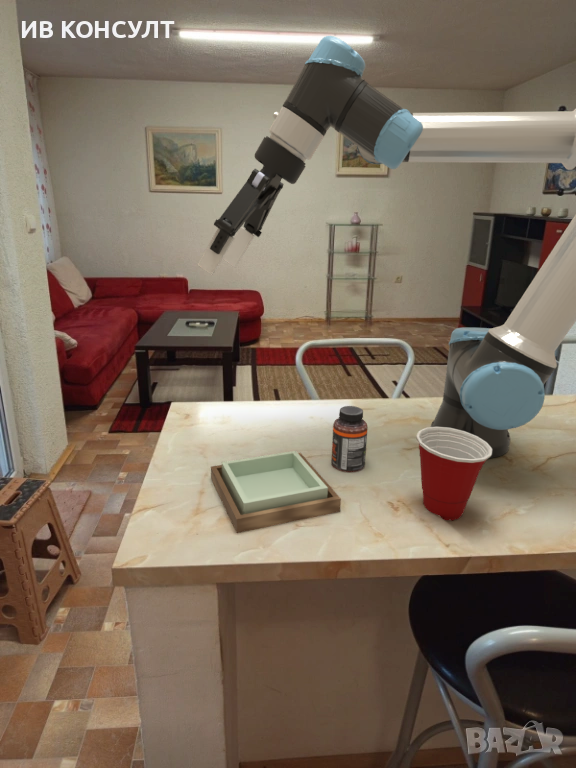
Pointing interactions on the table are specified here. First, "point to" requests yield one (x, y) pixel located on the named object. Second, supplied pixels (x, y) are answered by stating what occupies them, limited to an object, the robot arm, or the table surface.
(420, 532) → the table surface
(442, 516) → the plastic cup
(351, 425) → the supplement bottle
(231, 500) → the walnut crate
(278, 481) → the grey-green crate
